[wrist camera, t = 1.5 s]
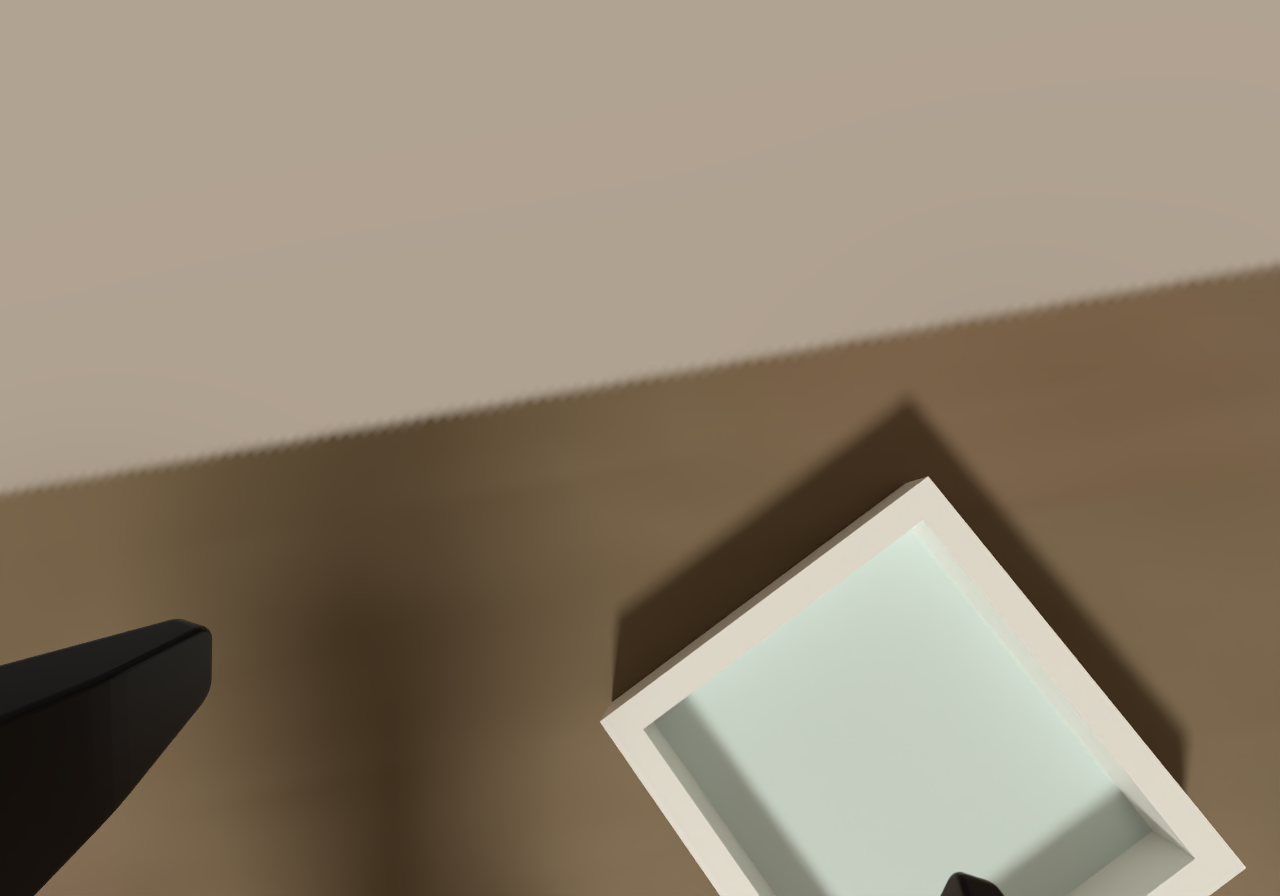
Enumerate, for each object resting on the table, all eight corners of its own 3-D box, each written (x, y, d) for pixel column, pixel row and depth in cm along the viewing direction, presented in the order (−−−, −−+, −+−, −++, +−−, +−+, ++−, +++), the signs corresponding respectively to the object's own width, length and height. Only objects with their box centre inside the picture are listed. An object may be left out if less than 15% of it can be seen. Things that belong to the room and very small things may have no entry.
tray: (1184, 830, 21) (1246, 867, 18) (866, 1068, 21) (886, 1136, 18) (905, 483, 22) (928, 476, 20) (611, 702, 22) (599, 721, 20)
